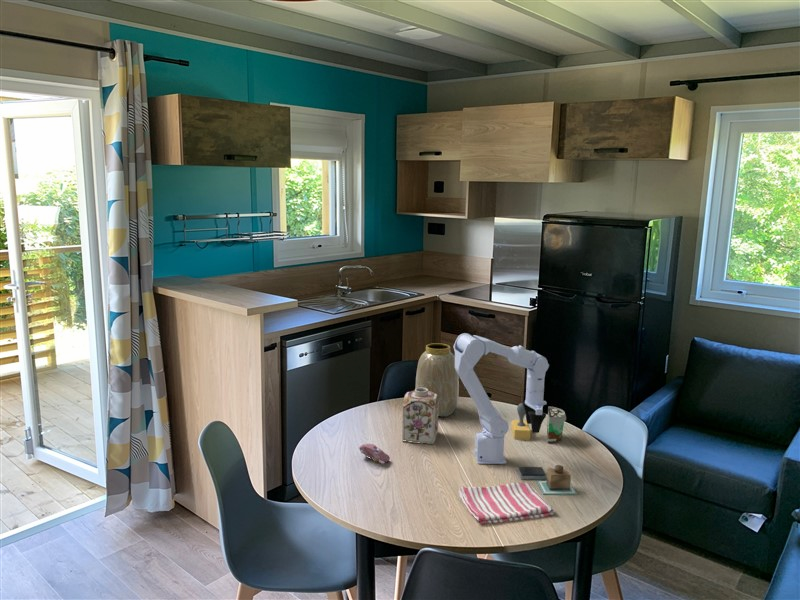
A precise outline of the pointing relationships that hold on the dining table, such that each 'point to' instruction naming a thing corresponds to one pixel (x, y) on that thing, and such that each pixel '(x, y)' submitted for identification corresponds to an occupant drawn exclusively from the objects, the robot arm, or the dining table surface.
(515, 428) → the rubber stamp
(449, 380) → the vase
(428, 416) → the decorative jar
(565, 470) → the hand stamp
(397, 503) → the dining table surface
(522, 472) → the ink pad
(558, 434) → the food container
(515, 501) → the dish towel
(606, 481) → the dining table surface
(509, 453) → the dining table surface
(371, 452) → the pink rounded piece
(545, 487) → the marked card
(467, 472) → the dining table surface
